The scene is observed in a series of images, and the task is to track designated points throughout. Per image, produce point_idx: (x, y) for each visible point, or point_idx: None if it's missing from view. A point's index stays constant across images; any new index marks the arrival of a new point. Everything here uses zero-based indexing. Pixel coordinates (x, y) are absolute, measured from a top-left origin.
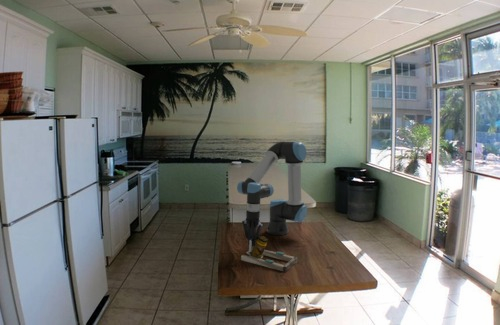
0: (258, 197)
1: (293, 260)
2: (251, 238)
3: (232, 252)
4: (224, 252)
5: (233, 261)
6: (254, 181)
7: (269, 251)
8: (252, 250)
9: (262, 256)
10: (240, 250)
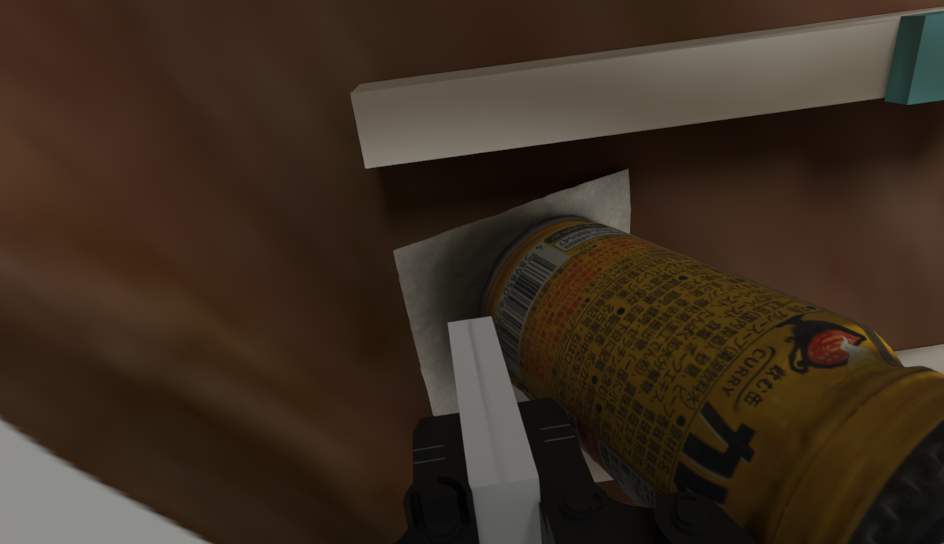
0: None
1: None
2: (477, 534)
3: (126, 364)
4: (48, 436)
5: (387, 530)
6: None
7: (729, 73)
8: (529, 399)
9: (618, 200)
10: (134, 221)
